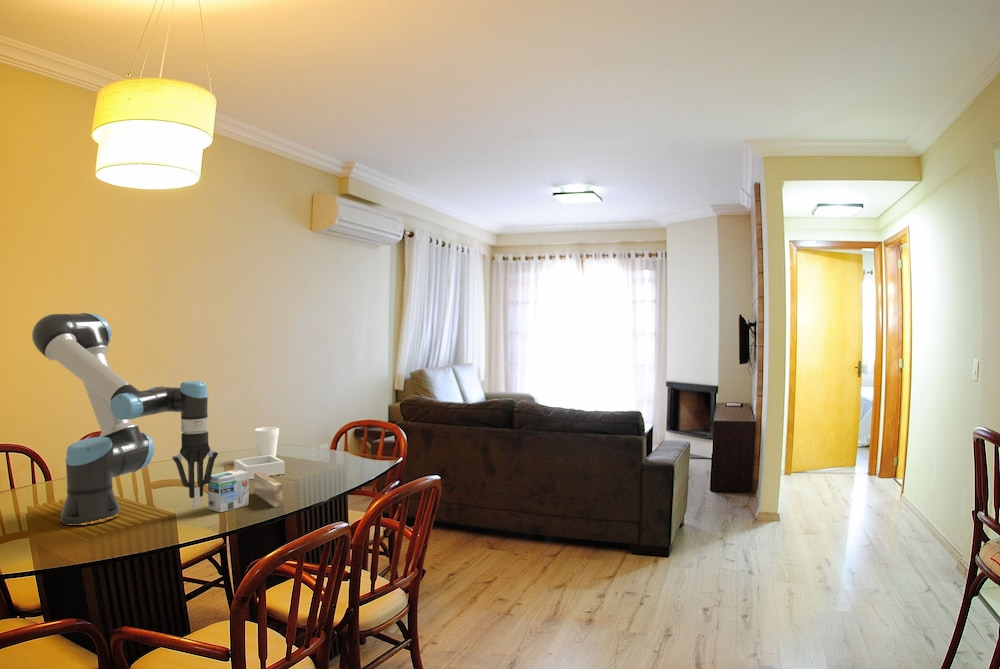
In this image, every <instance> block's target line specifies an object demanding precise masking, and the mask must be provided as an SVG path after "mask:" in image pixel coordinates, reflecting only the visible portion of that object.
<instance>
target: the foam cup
mask: <svg viewBox="0 0 1000 669" xmlns="http://www.w3.org/2000/svg"><path fill="white" fill-rule="evenodd" d="M279 434H280V428H279V427H276V426H265V427H257V428H255V429H254V436H255V443H256V449H257V457H260V456H267V455H273V456H275V457H277V456H276V455H277V448H278V441H279V440H278V439H279Z"/></svg>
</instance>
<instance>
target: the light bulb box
mask: <svg viewBox="0 0 1000 669" xmlns="http://www.w3.org/2000/svg"><path fill="white" fill-rule="evenodd" d="M249 482H250V480H249V472H246V471H241V470H237V469H235V470H234V469H231V470H227V471H223V472H218V473H215V474H211V477H210V482H209V483H208V484H207V500H208V501H207V502H208V505H207V506H208V507H207V508H208V510H210V511H215V512H218V513H223V512H228V511H231V510H235V509H238V508H243V507H245V506H246V507H247V506H249V504H250V503H249V500H250V498H249V497H250V496H249V493H250V492H249V490H250V489H249V488H250V487H249V485H250V484H249Z"/></svg>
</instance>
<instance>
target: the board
mask: <svg viewBox="0 0 1000 669" xmlns="http://www.w3.org/2000/svg"><path fill="white" fill-rule="evenodd" d="M253 482H254V483H253V484H254V485H253V493H254V495H256V496H257V497H259V498H261V500H264V501H265V502H267V503H268V504H269V505H271V506H273V507H274V508H278V507H283V506H284V504H283V484H282V483H281V482H280V481H278V480H276V479H274V478H272V477H269V476H268V475H266V474H264V473H262V472H258V473H254V479H253Z"/></svg>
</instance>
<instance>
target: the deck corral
mask: <svg viewBox="0 0 1000 669" xmlns="http://www.w3.org/2000/svg"><path fill="white" fill-rule="evenodd" d="M233 464H234V465H233V470H235V469H237V470H241V471H246V472H249V479H253V478H254V473H258V472H262V473H264V474H266V475H268V476H269V475H276V474H284V473H285V474H286V465H285V464H286V462H285V461H284V460H283V459H280V458H278V457H277V456H276V457H275V456H273V455H267V456H260V457H258V456H254V457H246V458H239V459H233ZM253 480H254V479H253Z"/></svg>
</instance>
